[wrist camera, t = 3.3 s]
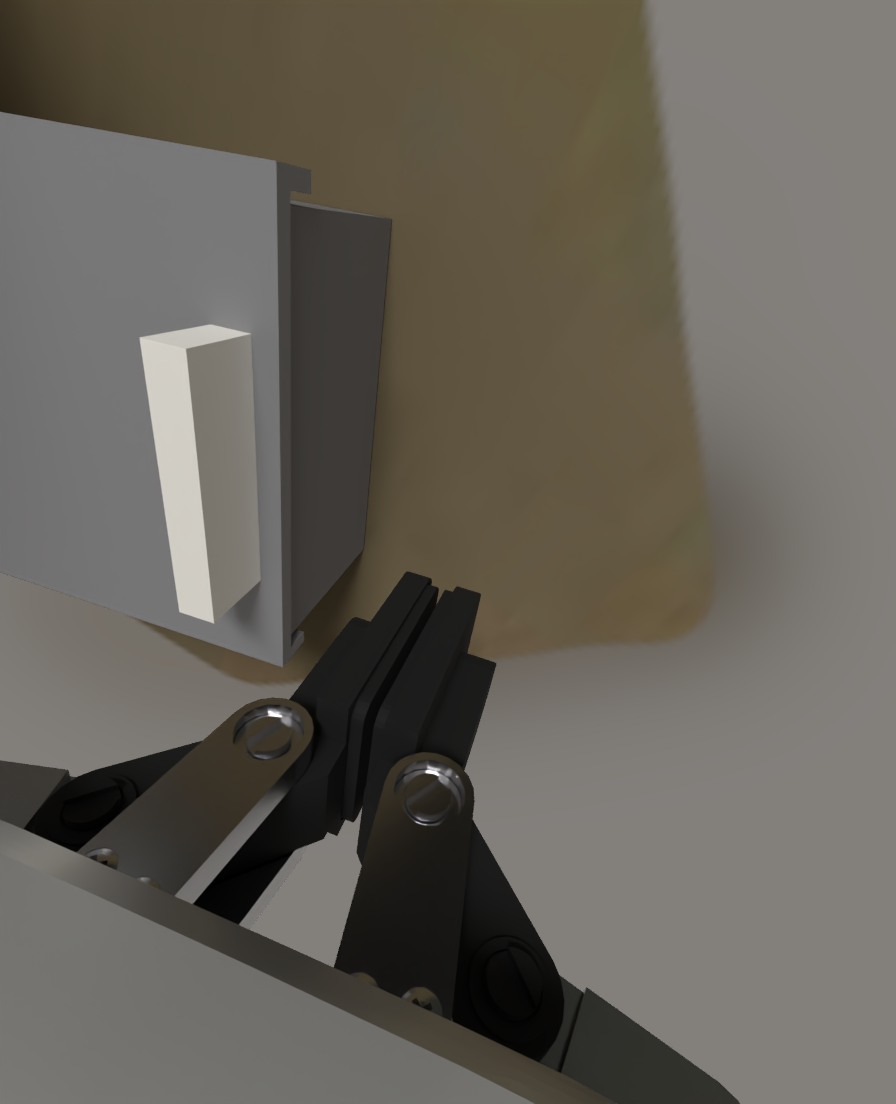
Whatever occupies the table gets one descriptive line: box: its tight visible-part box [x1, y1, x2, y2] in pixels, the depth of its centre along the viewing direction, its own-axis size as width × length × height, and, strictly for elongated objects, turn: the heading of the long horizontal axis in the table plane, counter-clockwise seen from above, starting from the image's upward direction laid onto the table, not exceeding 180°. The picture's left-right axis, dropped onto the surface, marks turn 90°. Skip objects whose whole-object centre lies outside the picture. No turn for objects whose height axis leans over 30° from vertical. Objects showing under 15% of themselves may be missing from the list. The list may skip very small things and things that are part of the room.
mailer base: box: [290, 200, 392, 634], centre depth 21 cm, size 14×18×7 cm
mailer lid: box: [0, 112, 311, 667], centre depth 17 cm, size 16×18×4 cm
